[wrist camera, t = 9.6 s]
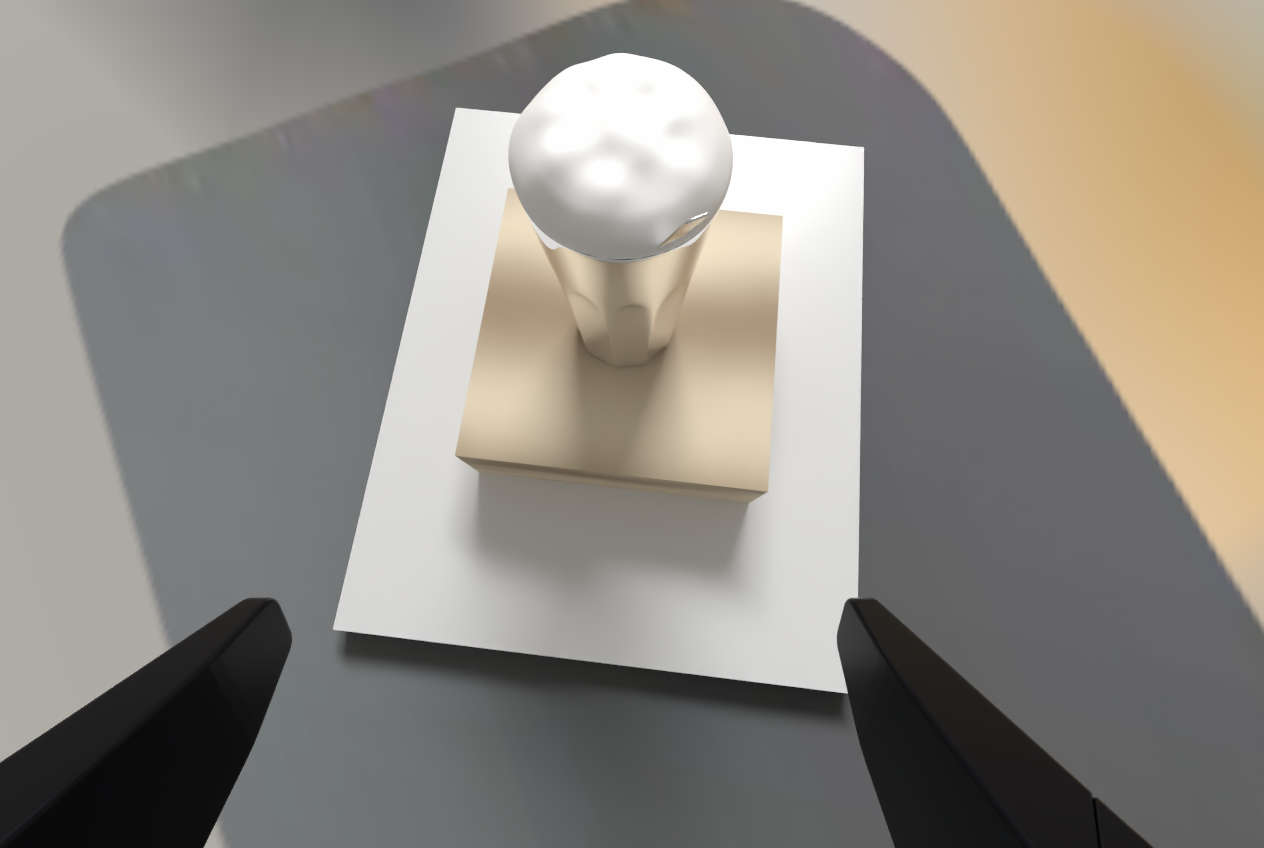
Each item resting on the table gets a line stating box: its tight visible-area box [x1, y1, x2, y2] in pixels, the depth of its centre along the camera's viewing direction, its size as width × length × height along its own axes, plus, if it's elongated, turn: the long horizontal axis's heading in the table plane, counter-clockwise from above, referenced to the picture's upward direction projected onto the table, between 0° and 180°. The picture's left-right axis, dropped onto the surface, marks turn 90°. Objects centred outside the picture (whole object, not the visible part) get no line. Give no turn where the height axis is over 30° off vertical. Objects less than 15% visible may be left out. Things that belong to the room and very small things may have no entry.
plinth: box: [455, 188, 783, 503], centre depth 21 cm, size 10×10×3 cm
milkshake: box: [508, 53, 733, 367], centre depth 14 cm, size 4×5×10 cm
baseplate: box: [333, 108, 864, 694], centre depth 23 cm, size 22×18×1 cm
